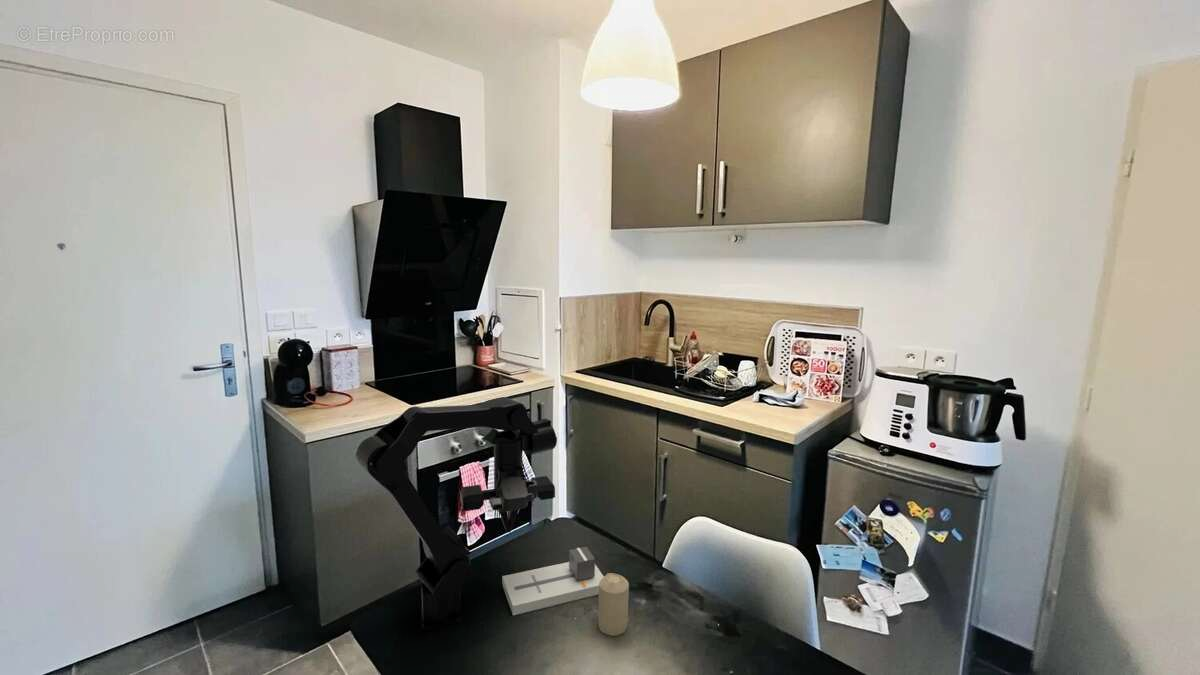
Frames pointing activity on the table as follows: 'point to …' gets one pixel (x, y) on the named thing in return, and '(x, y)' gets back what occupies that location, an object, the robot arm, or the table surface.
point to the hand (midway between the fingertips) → (508, 531)
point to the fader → (581, 563)
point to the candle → (613, 604)
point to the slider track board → (547, 587)
